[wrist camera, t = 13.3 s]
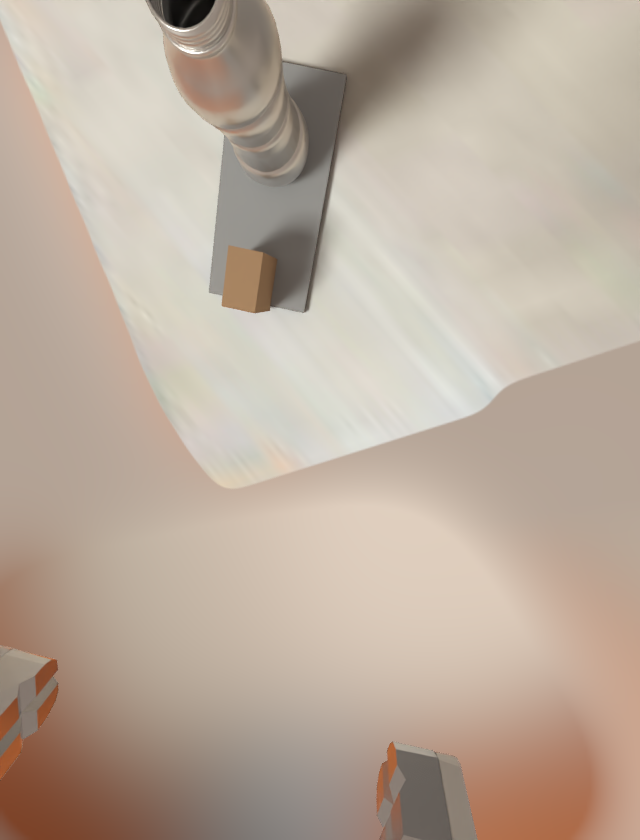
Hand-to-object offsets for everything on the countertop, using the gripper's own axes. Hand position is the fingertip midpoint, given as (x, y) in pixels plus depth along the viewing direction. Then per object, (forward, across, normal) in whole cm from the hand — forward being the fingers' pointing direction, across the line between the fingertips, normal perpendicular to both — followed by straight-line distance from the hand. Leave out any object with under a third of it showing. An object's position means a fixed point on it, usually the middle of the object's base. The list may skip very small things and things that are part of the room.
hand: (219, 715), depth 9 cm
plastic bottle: (+34, +9, -21) cm, 41 cm away
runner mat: (+34, +9, -18) cm, 39 cm away
